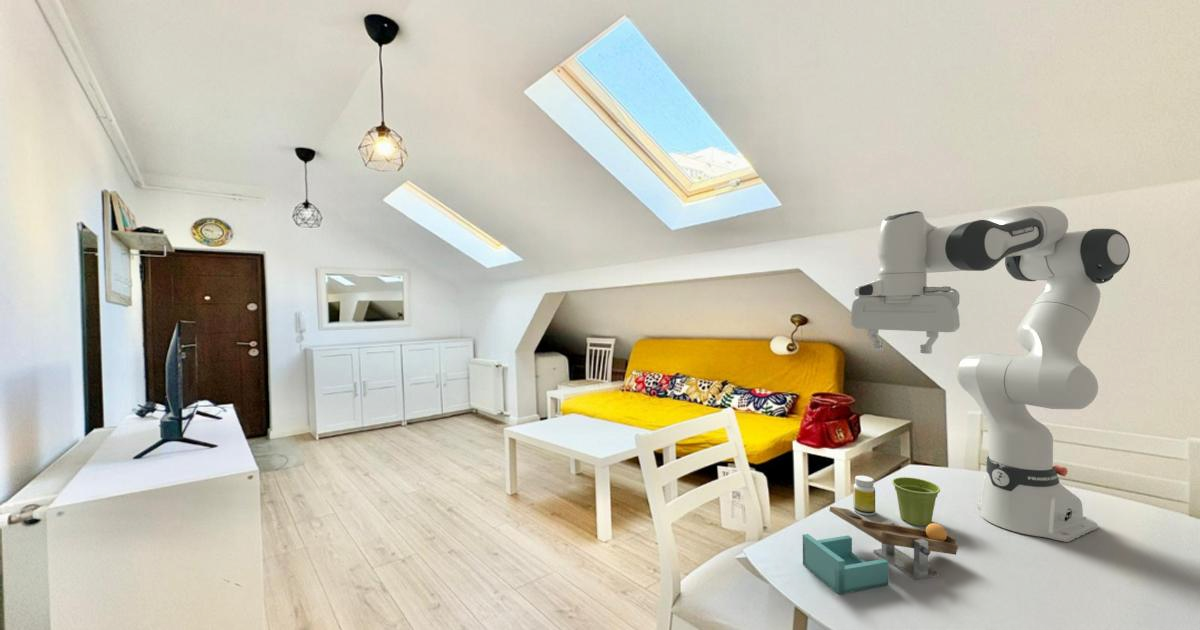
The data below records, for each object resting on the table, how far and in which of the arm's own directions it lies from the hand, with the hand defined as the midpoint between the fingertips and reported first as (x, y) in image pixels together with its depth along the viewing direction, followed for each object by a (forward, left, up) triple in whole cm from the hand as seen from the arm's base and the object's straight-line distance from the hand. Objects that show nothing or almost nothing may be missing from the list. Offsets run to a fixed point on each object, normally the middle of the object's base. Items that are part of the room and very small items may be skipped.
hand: (901, 351), depth 101 cm
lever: (+6, +3, -37) cm, 38 cm away
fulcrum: (+7, +8, -41) cm, 43 cm away
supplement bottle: (-3, -13, -42) cm, 44 cm away
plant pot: (-11, -6, -42) cm, 44 cm away
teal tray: (+21, +8, -41) cm, 47 cm away
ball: (-1, +8, -36) cm, 37 cm away
